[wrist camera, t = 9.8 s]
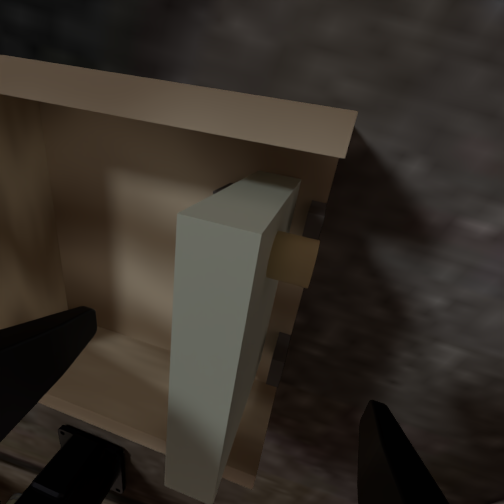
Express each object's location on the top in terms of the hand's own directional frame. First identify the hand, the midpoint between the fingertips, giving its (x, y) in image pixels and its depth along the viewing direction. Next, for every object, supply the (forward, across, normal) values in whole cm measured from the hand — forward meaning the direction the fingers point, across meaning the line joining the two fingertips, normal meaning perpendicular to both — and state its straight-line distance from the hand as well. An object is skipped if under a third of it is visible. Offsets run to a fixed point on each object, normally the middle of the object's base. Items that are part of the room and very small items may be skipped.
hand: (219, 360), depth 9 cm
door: (+6, 0, 0) cm, 6 cm away
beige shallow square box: (+7, +6, 0) cm, 9 cm away
